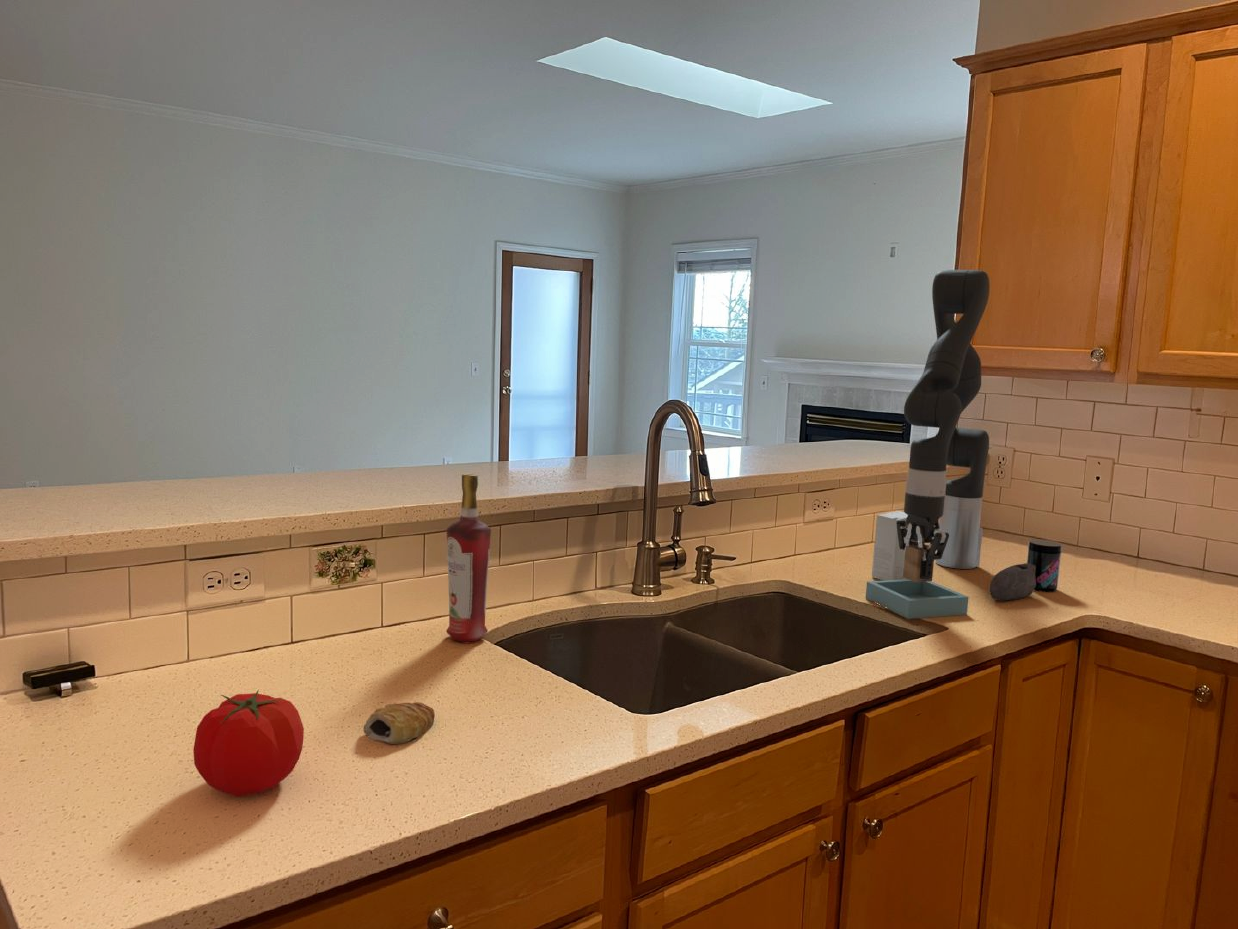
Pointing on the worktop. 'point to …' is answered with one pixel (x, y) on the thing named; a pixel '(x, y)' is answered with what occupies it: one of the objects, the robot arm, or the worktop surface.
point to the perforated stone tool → (1013, 582)
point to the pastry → (399, 722)
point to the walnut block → (914, 564)
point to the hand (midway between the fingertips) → (917, 575)
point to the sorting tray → (917, 598)
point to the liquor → (468, 568)
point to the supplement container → (1045, 563)
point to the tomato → (248, 743)
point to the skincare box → (888, 548)
